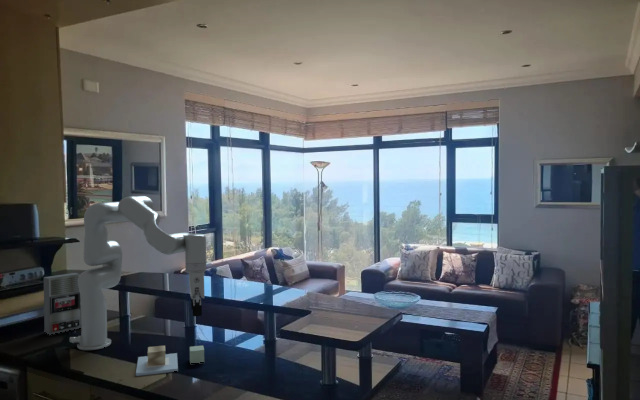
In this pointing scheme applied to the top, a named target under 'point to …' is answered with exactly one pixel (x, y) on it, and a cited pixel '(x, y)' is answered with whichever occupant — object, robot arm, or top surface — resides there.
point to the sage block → (196, 354)
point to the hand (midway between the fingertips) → (196, 312)
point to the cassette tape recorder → (61, 303)
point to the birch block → (156, 355)
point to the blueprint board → (169, 366)
